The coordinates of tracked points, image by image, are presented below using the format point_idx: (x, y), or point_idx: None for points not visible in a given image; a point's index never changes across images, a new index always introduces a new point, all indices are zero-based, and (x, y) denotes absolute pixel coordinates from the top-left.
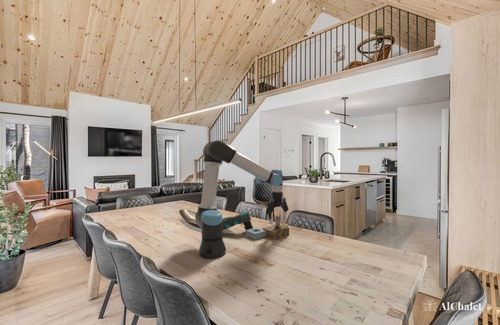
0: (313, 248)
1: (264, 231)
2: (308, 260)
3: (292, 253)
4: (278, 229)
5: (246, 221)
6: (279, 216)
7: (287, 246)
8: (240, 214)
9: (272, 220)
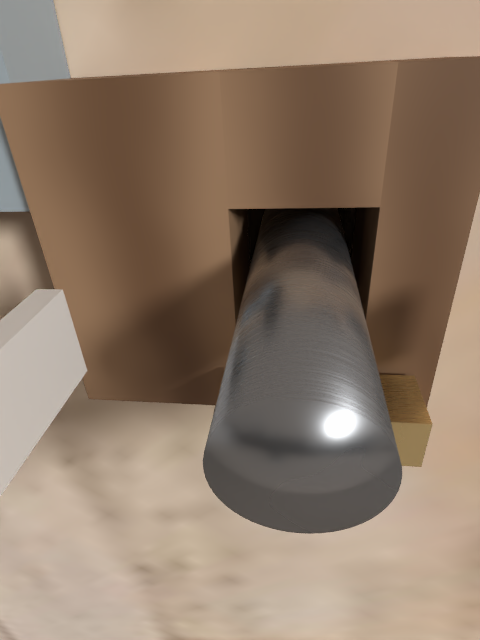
0: (254, 595)
1: (7, 208)
2: (100, 623)
3: (79, 559)
4: (214, 364)
5: None
6: (303, 529)
7: (124, 496)
8: None
9: (40, 431)
